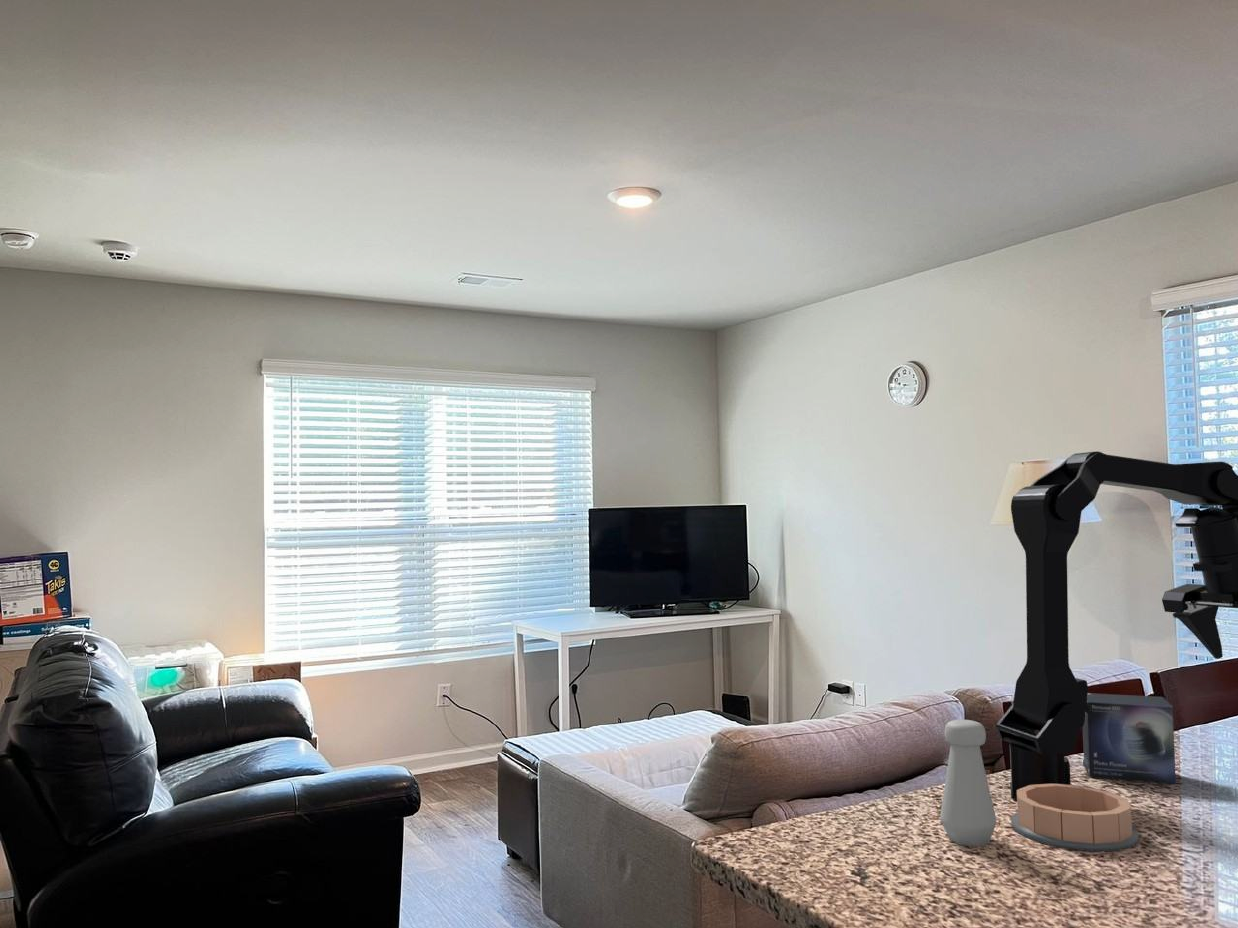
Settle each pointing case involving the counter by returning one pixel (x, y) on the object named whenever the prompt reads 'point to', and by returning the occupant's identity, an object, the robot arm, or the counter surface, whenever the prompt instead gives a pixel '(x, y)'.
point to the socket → (1074, 817)
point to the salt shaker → (967, 787)
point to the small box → (1129, 738)
